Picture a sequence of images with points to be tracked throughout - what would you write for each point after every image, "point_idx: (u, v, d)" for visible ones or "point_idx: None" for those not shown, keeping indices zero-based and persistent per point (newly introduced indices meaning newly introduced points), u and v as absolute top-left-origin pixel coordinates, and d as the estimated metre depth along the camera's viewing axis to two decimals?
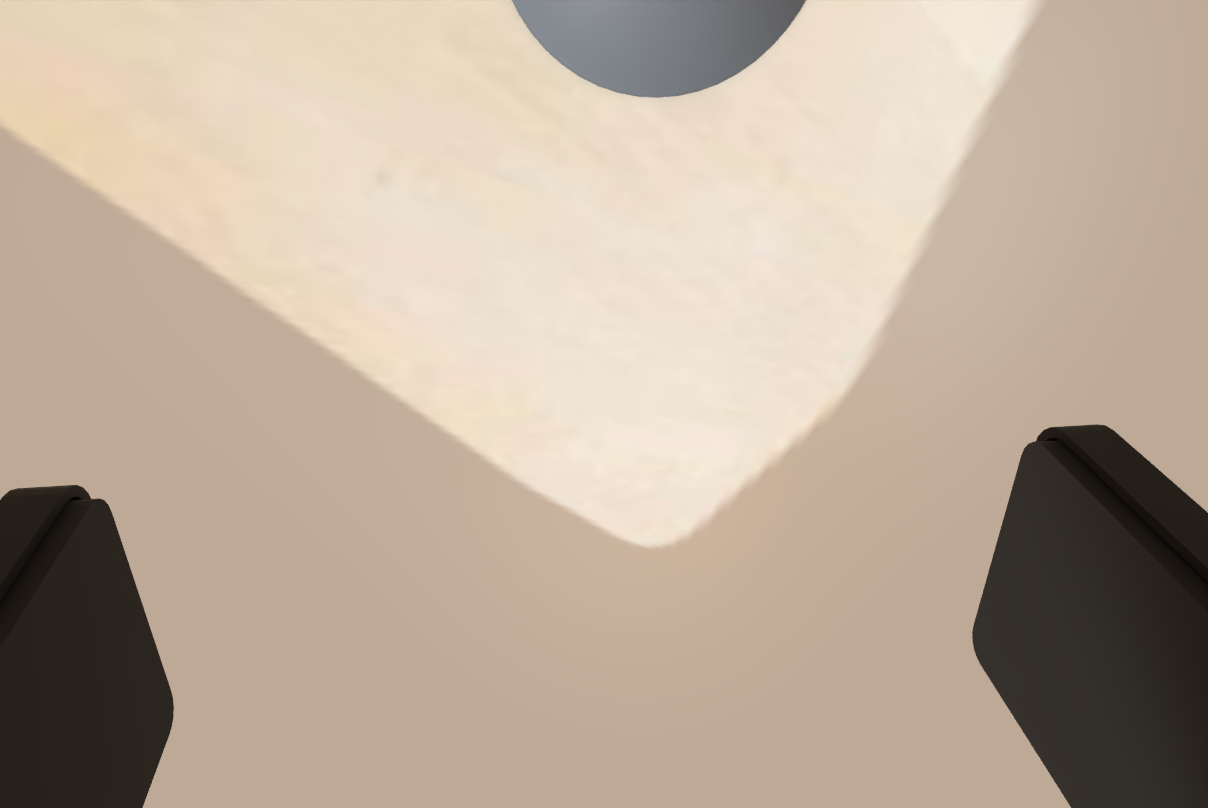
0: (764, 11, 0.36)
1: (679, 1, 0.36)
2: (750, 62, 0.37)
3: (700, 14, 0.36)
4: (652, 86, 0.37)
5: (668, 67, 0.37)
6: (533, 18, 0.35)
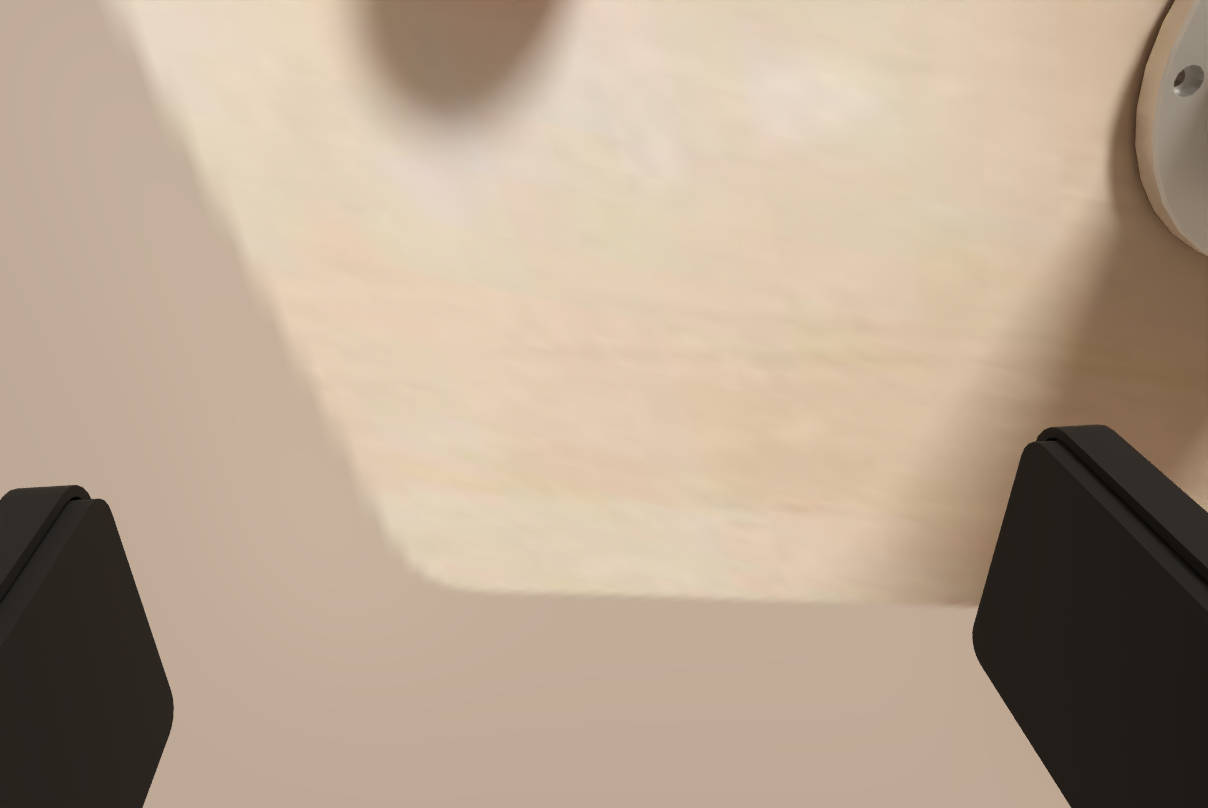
0: None
1: None
2: None
3: None
4: None
5: None
6: None
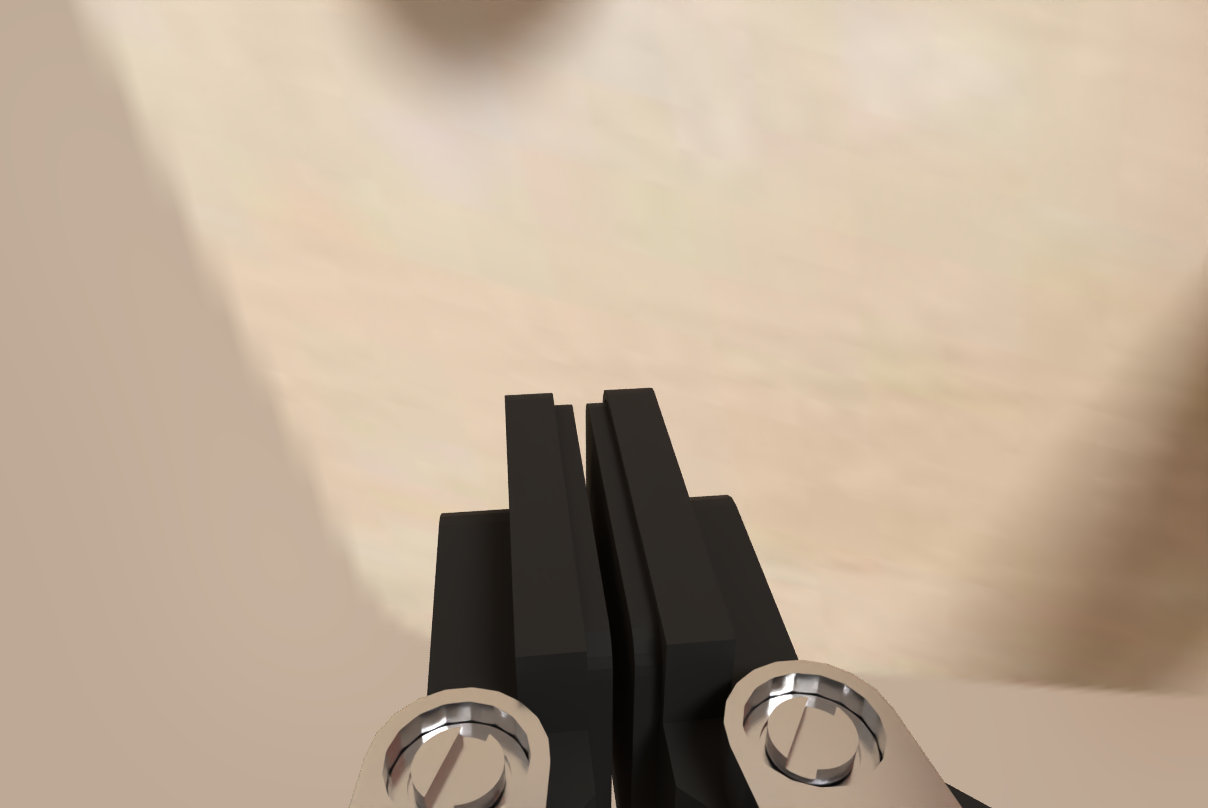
0: None
1: None
2: None
3: None
4: None
5: None
6: None
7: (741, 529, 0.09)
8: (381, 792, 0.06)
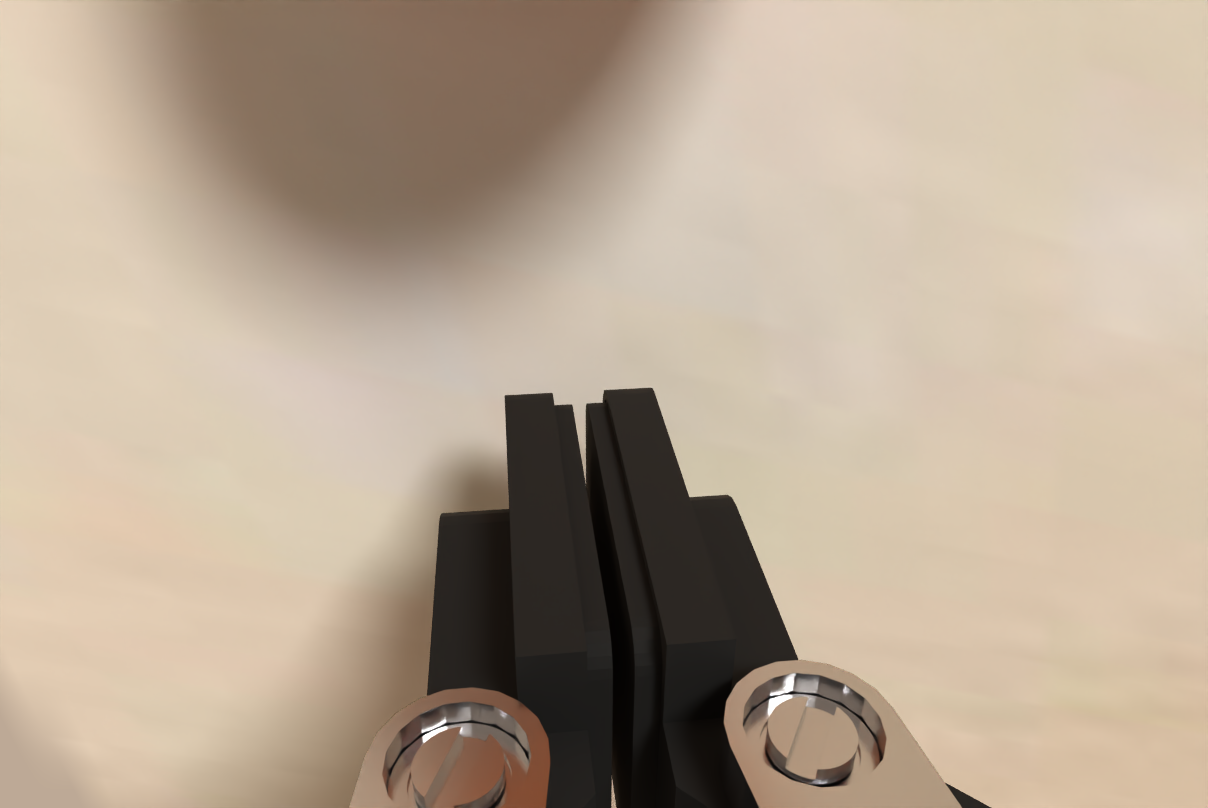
0: None
1: None
2: None
3: None
4: None
5: None
6: None
7: (742, 529, 0.09)
8: (381, 792, 0.06)
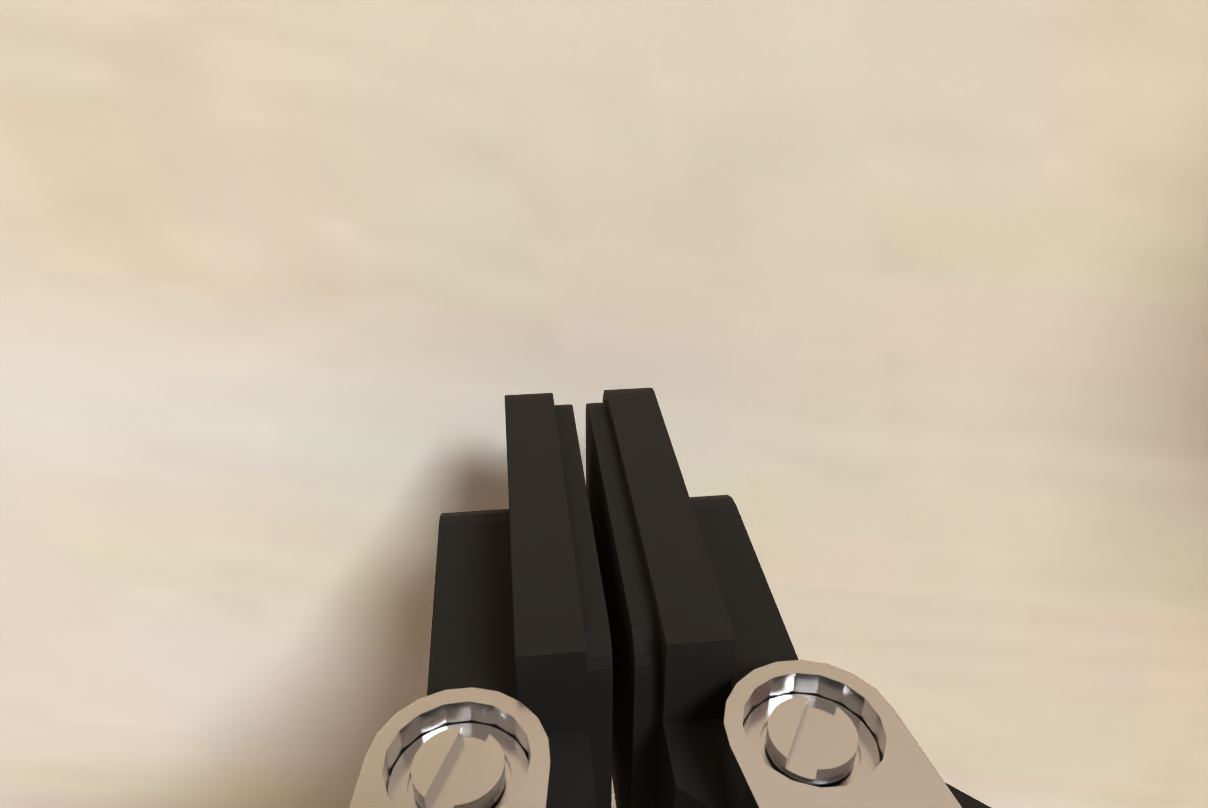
0: None
1: None
2: None
3: None
4: None
5: None
6: None
7: (742, 529, 0.09)
8: (381, 792, 0.06)
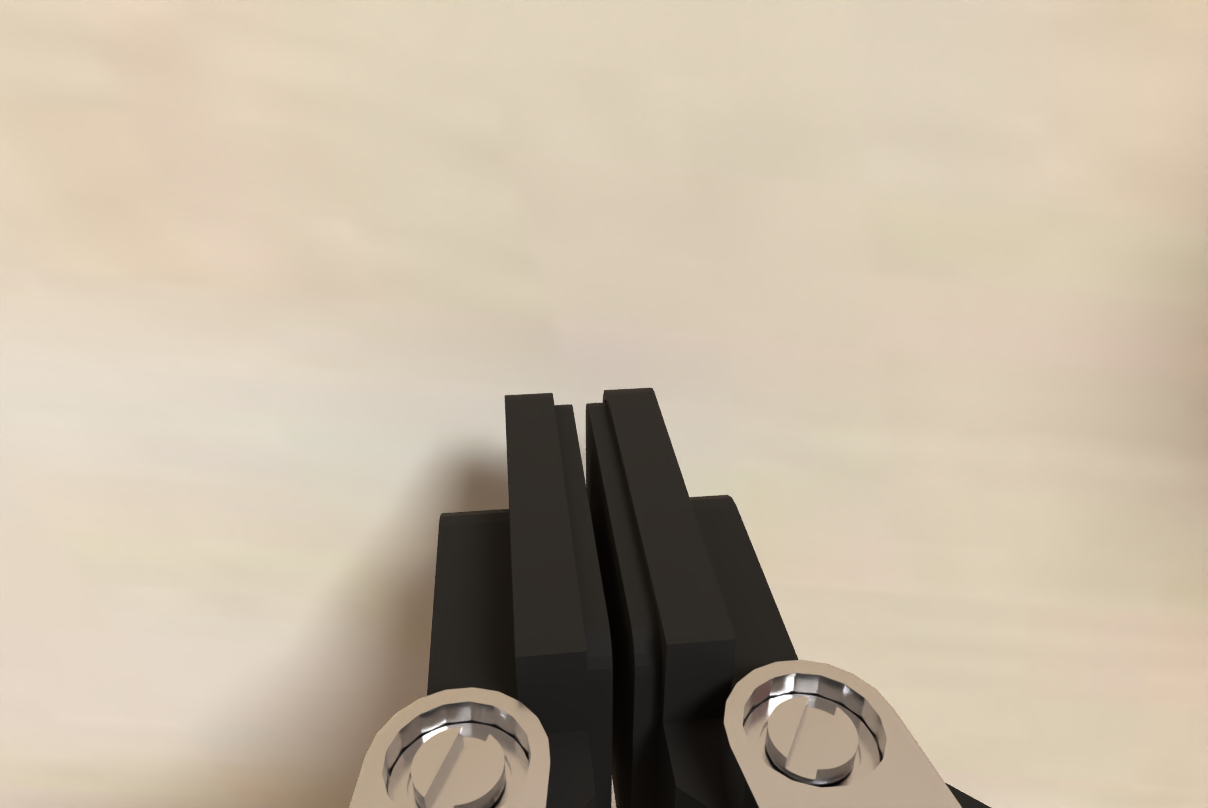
0: None
1: None
2: None
3: None
4: None
5: None
6: None
7: (742, 529, 0.09)
8: (381, 792, 0.06)
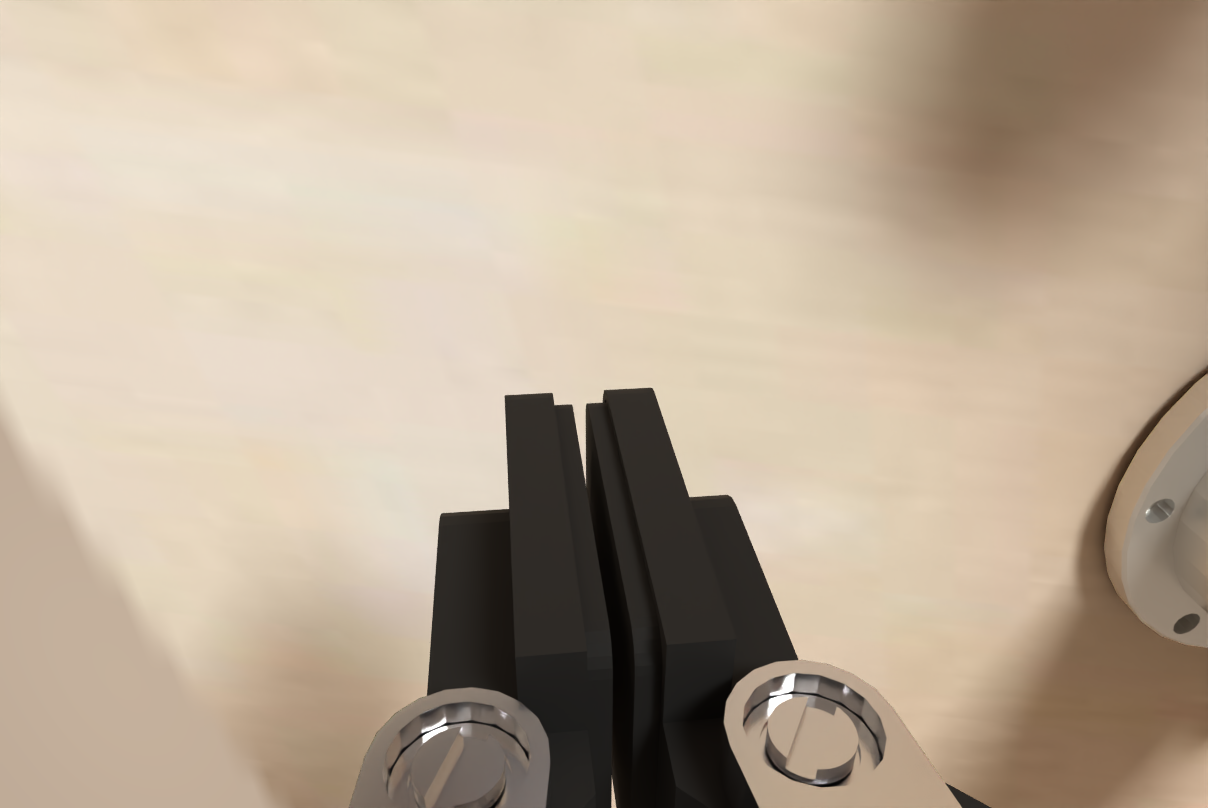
0: None
1: None
2: None
3: None
4: None
5: None
6: None
7: (742, 529, 0.09)
8: (381, 792, 0.06)
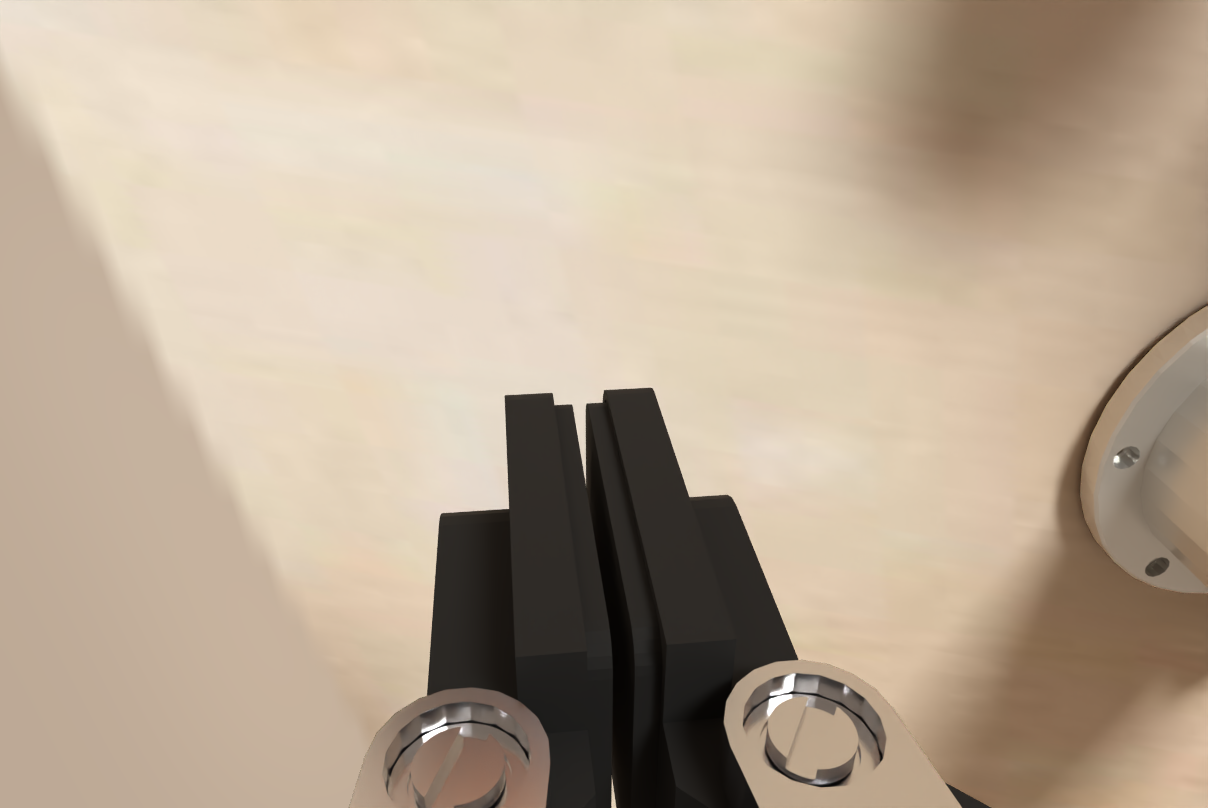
0: None
1: None
2: None
3: None
4: None
5: None
6: None
7: (742, 529, 0.09)
8: (381, 792, 0.06)
